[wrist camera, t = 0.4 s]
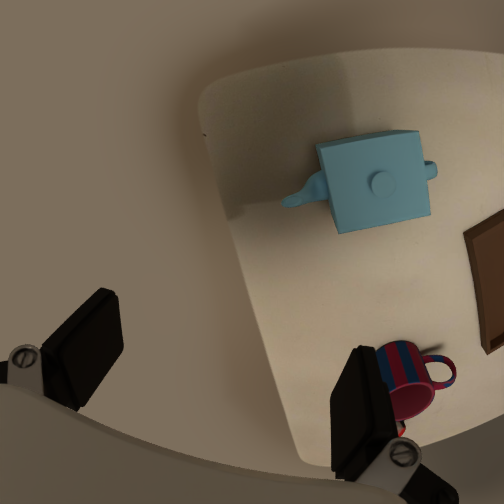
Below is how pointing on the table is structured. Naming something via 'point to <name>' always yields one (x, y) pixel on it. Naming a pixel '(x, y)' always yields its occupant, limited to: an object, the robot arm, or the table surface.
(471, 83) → the table surface
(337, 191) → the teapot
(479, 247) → the tray
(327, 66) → the table surface
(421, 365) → the mug
